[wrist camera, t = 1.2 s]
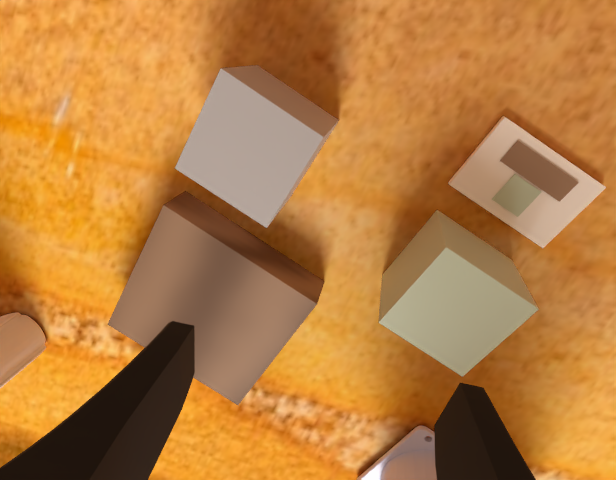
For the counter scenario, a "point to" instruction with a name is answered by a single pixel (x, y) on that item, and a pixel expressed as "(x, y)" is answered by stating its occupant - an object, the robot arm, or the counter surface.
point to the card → (525, 183)
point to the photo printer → (18, 344)
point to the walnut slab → (216, 294)
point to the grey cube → (254, 141)
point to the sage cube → (453, 295)
